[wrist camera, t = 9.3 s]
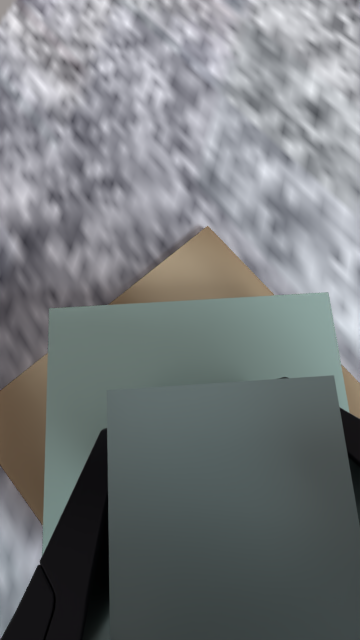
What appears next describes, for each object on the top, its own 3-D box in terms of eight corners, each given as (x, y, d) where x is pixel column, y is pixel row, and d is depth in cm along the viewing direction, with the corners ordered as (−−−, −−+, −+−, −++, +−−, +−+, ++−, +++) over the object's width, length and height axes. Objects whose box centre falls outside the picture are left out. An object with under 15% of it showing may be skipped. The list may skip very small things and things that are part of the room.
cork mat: (179, 710, 13) (179, 720, 13) (-28, 416, 15) (-34, 417, 15) (417, 448, 15) (424, 450, 15) (206, 229, 18) (207, 225, 17)
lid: (344, 574, 12) (682, 930, 4) (66, 598, 12) (-164, 1036, 4) (303, 309, 15) (465, 200, 7) (70, 323, 15) (-68, 226, 6)
